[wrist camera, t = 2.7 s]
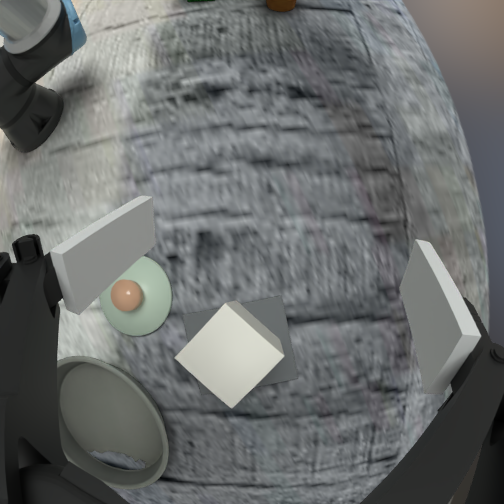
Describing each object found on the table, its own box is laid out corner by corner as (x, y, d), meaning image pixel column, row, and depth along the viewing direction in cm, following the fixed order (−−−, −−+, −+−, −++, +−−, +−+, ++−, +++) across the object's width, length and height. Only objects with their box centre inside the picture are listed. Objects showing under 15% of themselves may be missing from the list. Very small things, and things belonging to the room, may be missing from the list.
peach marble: (123, 312, 41) (113, 313, 38) (118, 283, 42) (108, 282, 39) (148, 307, 41) (140, 308, 38) (143, 277, 41) (135, 276, 38)
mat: (201, 393, 40) (201, 394, 39) (183, 314, 41) (182, 314, 41) (297, 377, 39) (298, 378, 39) (281, 295, 41) (281, 295, 40)
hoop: (35, 390, 41) (21, 395, 36) (109, 322, 42) (94, 325, 37) (115, 491, 37) (105, 503, 33) (208, 445, 39) (202, 459, 34)
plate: (109, 339, 41) (107, 339, 40) (97, 263, 43) (94, 263, 42) (179, 329, 41) (178, 330, 40) (164, 247, 43) (163, 246, 42)
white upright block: (240, 380, 39) (231, 408, 28) (198, 341, 40) (174, 357, 29) (279, 339, 40) (284, 356, 29) (236, 300, 41) (225, 303, 30)
